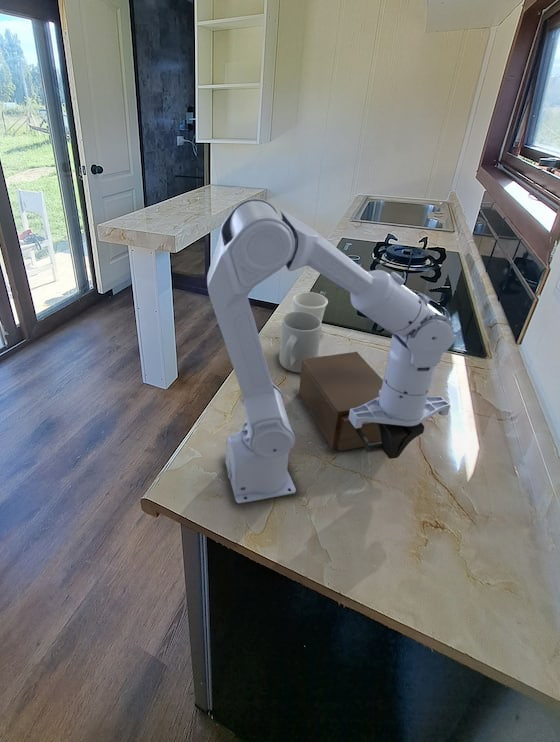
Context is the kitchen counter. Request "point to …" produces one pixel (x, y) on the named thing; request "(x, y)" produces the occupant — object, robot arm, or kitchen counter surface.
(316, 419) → the cabinet
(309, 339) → the mug
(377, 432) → the drawer
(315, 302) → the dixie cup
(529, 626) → the kitchen counter surface
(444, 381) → the kitchen counter surface
